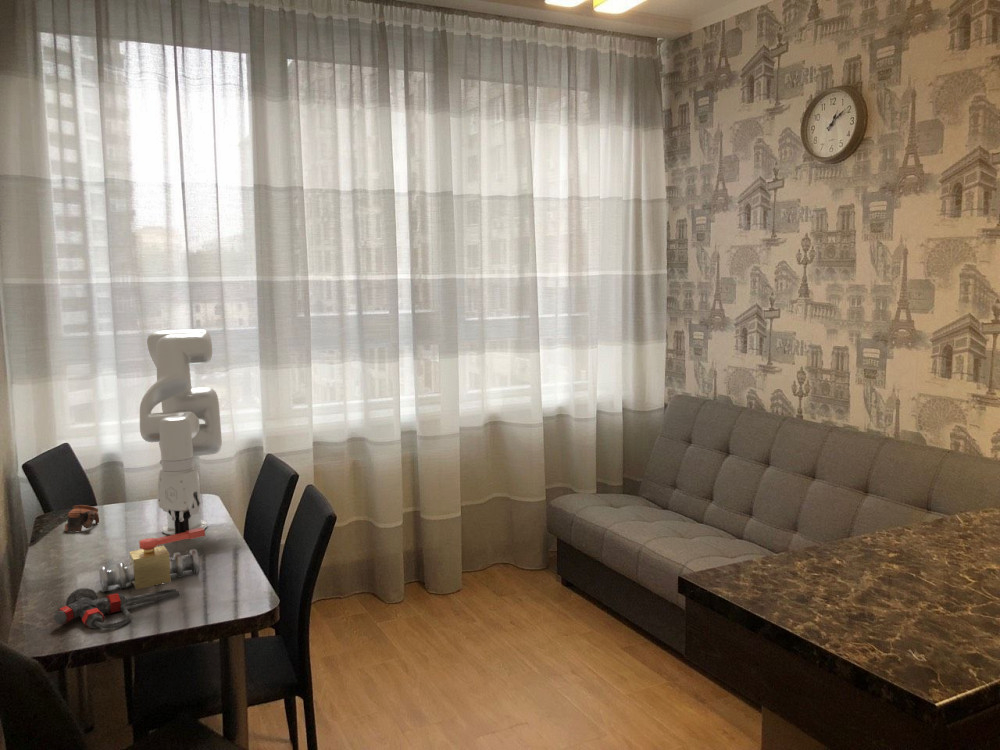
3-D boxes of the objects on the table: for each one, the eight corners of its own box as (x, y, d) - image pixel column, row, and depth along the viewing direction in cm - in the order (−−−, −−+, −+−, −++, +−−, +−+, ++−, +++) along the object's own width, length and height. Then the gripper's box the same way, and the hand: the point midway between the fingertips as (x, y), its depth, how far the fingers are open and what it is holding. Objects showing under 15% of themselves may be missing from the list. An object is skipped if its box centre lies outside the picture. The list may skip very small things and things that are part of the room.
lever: (200, 533, 206) (200, 527, 205) (206, 536, 203) (205, 530, 202) (137, 546, 196) (137, 540, 195) (142, 550, 193) (142, 544, 192)
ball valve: (100, 587, 193) (97, 552, 192) (194, 568, 205) (192, 535, 204) (103, 596, 188) (100, 560, 187) (200, 576, 199) (198, 542, 198)
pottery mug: (56, 532, 240) (63, 505, 244) (86, 538, 247) (92, 512, 251) (77, 528, 234) (84, 500, 237) (107, 534, 241) (113, 508, 244)
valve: (65, 652, 163) (48, 620, 174) (192, 621, 181) (168, 593, 191) (66, 624, 162) (48, 593, 173) (193, 595, 179) (169, 569, 190)
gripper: (143, 466, 201) (148, 536, 203) (190, 470, 195) (195, 542, 197) (165, 460, 208) (170, 528, 210) (211, 463, 202) (215, 533, 204)
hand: (182, 534), depth 203 cm, fingers closed
